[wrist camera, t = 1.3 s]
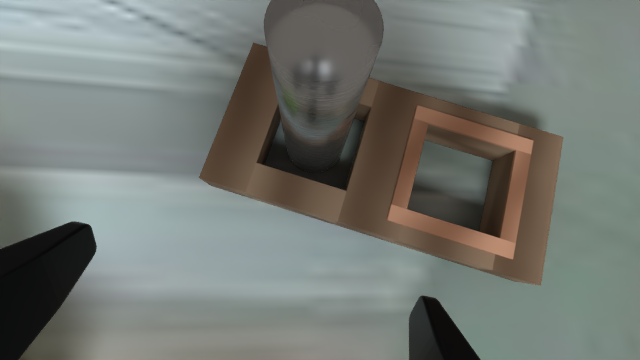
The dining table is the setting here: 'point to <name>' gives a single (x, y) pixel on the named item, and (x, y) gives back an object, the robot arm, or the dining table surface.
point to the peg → (320, 71)
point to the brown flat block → (400, 173)
